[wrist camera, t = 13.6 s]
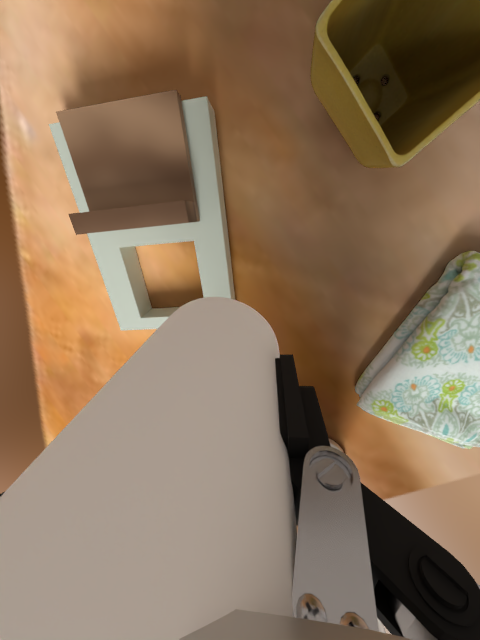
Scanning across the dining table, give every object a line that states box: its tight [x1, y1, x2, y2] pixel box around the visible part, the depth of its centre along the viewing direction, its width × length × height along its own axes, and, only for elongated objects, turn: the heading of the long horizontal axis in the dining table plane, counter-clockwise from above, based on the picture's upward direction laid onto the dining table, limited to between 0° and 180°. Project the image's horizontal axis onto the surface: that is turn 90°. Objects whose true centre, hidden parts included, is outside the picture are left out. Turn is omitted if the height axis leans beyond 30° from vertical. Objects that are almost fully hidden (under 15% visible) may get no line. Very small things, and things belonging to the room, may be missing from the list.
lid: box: [56, 90, 200, 235], centre depth 19 cm, size 9×10×4 cm
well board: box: [49, 96, 235, 330], centre depth 24 cm, size 20×14×3 cm
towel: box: [355, 251, 480, 449], centre depth 26 cm, size 18×21×5 cm
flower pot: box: [311, 0, 480, 168], centre depth 15 cm, size 9×9×9 cm
